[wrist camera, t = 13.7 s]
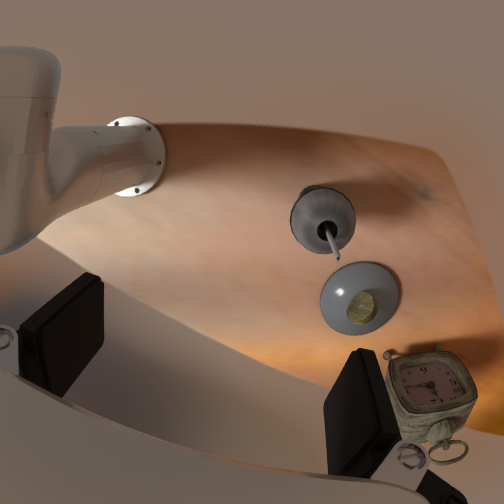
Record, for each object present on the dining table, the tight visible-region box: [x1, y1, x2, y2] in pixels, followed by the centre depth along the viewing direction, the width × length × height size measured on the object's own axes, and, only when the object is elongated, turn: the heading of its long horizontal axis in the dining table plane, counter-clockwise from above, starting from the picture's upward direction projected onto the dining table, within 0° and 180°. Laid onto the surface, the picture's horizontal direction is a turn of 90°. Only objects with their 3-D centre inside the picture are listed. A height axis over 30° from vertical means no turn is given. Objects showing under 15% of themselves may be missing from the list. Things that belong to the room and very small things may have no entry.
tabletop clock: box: [383, 345, 478, 465], centre depth 41 cm, size 14×9×25 cm, turn 95°
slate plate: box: [320, 261, 398, 336], centre depth 49 cm, size 13×13×1 cm
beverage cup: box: [290, 185, 356, 261], centre depth 35 cm, size 7×7×20 cm
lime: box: [347, 292, 378, 325], centre depth 46 cm, size 4×5×5 cm
